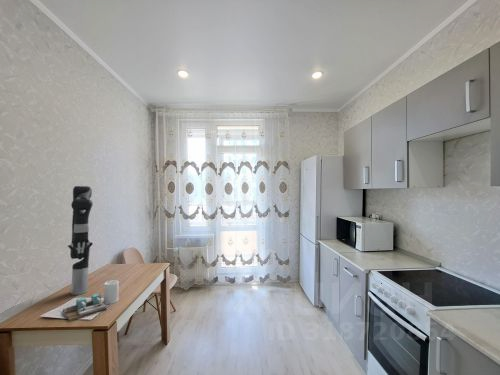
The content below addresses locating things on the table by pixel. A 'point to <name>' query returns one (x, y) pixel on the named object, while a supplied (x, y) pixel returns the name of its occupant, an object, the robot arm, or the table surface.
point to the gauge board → (74, 313)
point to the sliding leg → (81, 303)
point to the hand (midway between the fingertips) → (79, 259)
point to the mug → (111, 292)
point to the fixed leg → (96, 299)
